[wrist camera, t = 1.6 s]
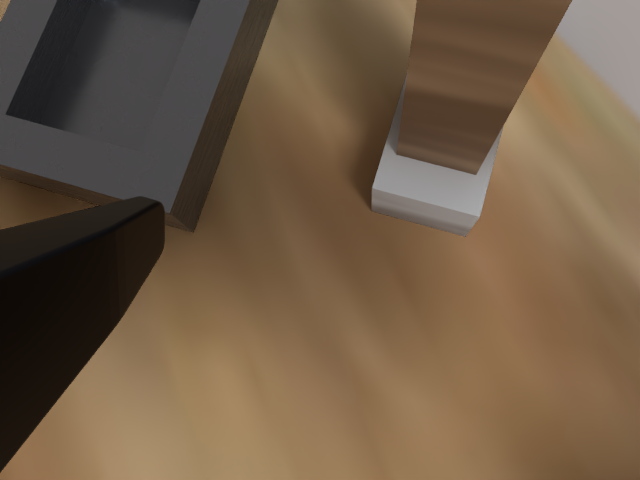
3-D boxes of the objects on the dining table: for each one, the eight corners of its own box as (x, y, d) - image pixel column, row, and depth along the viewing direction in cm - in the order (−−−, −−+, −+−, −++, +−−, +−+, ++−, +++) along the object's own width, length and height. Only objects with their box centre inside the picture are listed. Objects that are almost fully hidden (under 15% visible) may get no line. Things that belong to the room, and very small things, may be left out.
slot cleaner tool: (465, 236, 23) (594, 57, 10) (371, 210, 24) (377, 10, 11) (499, 106, 24) (654, -205, 11) (409, 85, 25) (456, -235, 12)
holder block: (193, 232, 24) (169, 213, 21) (-11, 173, 26) (-59, 147, 23) (280, -7, 26) (269, -54, 24) (89, -49, 28) (57, -98, 25)
